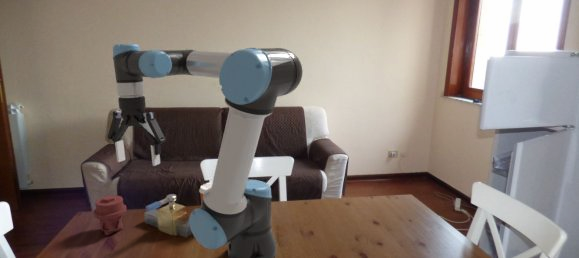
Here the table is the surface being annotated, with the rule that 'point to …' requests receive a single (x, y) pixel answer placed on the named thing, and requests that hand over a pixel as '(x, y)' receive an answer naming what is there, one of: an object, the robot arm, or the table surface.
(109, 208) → the mechanical component
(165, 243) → the table surface
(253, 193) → the robot arm
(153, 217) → the pipe
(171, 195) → the lever
